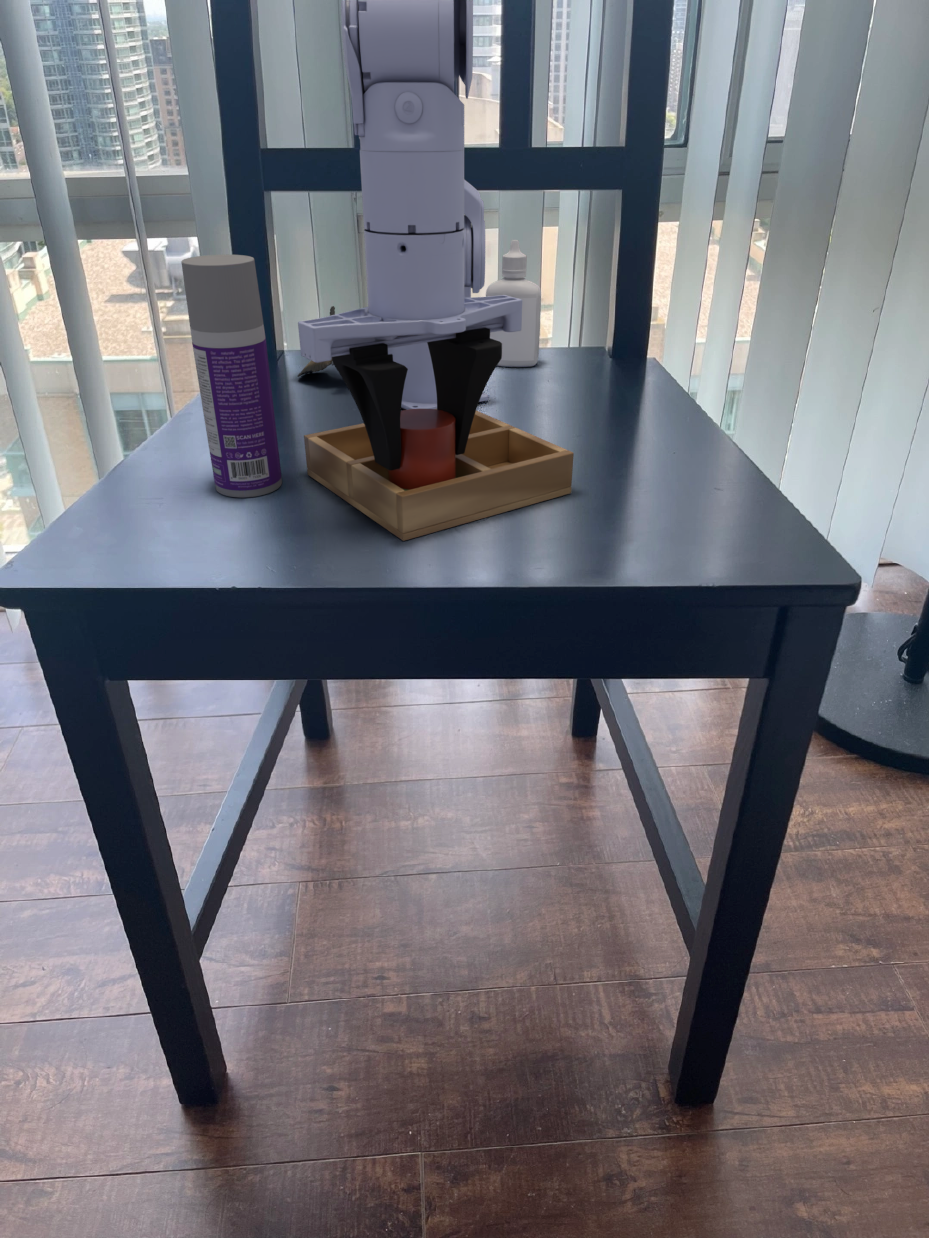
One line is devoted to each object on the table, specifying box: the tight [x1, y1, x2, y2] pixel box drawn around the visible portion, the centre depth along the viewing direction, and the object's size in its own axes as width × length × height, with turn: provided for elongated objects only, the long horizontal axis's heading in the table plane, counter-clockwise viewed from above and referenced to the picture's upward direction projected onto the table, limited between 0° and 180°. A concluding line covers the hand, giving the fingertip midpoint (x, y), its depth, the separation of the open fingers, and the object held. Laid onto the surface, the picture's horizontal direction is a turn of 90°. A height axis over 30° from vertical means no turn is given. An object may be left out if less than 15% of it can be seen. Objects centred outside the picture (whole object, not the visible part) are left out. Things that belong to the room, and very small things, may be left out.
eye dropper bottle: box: [485, 239, 542, 368], centre depth 87 cm, size 4×6×12 cm
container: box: [180, 254, 283, 498], centre depth 57 cm, size 5×5×15 cm
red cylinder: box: [388, 409, 456, 490], centre depth 55 cm, size 4×4×4 cm
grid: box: [303, 409, 575, 542], centre depth 60 cm, size 14×14×3 cm
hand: (420, 457), depth 55 cm, fingers closed on red cylinder, 4 cm apart
